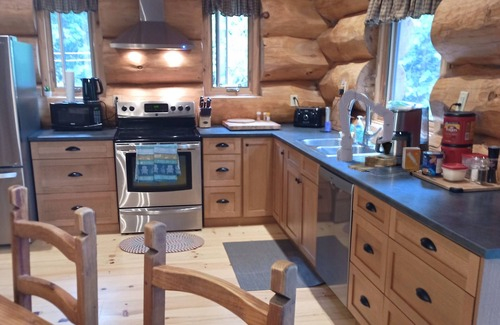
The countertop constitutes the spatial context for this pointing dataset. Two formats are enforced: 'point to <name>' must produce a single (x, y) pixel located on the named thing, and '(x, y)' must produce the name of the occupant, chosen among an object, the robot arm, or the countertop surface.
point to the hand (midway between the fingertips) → (386, 154)
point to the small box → (411, 159)
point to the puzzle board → (378, 163)
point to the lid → (387, 155)
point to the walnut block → (369, 161)
